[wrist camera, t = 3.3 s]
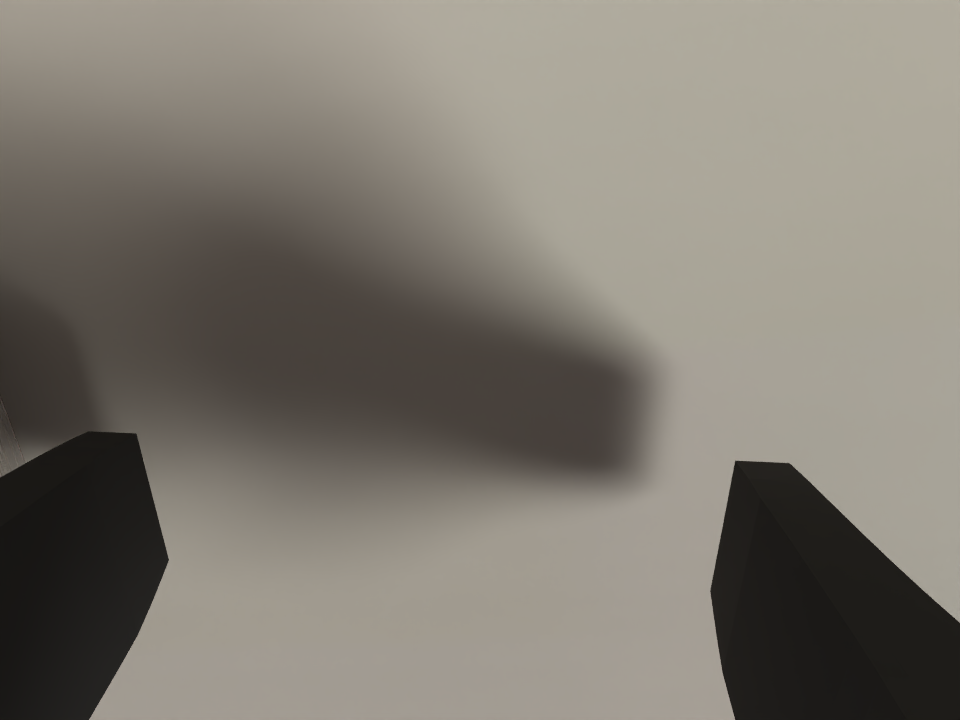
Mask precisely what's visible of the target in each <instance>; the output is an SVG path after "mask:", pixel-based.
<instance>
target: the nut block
mask: <svg viewBox="0 0 960 720" xmlns="http://www.w3.org/2000/svg"><path fill="white" fill-rule="evenodd" d="M23 464H25V460H24V457H23V455H22V452H21V449H20V447H19V444H18V441H17V439H16V436H15V433H14V430H13V428H12V425H11V422H10V420H9V417H8V414H7V412H6V409H5V406H4V403H3V401H2V398H1V395H0V477H2V476H4V475H5V474H7V473H9V472H11V471H13V470H14V469H16V468H18V467H20V466H22V465H23Z"/></svg>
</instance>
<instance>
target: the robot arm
mask: <svg viewBox="0 0 960 720" xmlns="http://www.w3.org/2000/svg"><path fill="white" fill-rule="evenodd" d="M168 561H169V559H168V555H167V551H166V547H165V543H164V539H163V535H162V532H161V528H160V524H159V520H158V516H157V512H156V508H155V504H154V501H153V497H152V493H151V489H150V485H149V481H148V477H147V473H146V469H145V466H144V462H143V458H142V454H141V450H140V446H139V442H138V438H137V434H133V433H111V432H87V433H84V434H82V435H80V436H78V437H76V438H73V439H71V440H69V441H67V442H65V443H63V444H61V445H59V446H57V447H55V448H53V449H51V450H49V451H48V452H46V453H44V454H42V455H40V456H38V457H36V458H34V459H33V460H31V461H29V462H27V463H25V464H23V465H22V466H20V467H18V468H16V469H14V470H13V471H11V472H9V473H7V474H5V475H4V476H2V477H0V720H89V719H90V717H91V715H92V714H93V712H94V710H95V708H96V707H97V705H98V703H99V702H100V700H101V698H102V697H103V695H104V693H105V691H106V690H107V688H108V686H109V684H110V683H111V681H112V679H113V678H114V676H115V674H116V672H117V671H118V669H119V667H120V665H121V664H122V662H123V660H124V658H125V657H126V655H127V653H128V651H129V650H130V648H131V646H132V644H133V642H134V641H135V639H136V637H137V635H138V633H139V631H140V629H141V626H142V624H143V622H144V619H145V617H146V615H147V613H148V610H149V608H150V606H151V603H152V601H153V599H154V596H155V594H156V591H157V589H158V586H159V584H160V581H161V579H162V576H163V574H164V571H165V568H166V566H167V563H168ZM710 592H711V599H712V606H713V613H714V620H715V627H716V634H717V640H718V647H719V653H720V659H721V665H722V671H723V676H724V679H725V683H726V687H727V691H728V694H729V698H730V702H731V705H732V709H733V713H734V716H735V720H960V623H959V622H958V621H957V620H956V619H955V618H954V617H952V616H951V615H950V614H949V613H948V612H947V611H946V610H944V609H943V608H942V607H941V606H940V605H939V604H938V603H937V602H935V601H934V600H933V599H932V598H931V597H930V596H929V595H928V594H926V593H925V592H924V591H923V590H922V589H921V588H920V587H919V586H918V585H917V584H915V583H914V582H913V581H912V580H911V579H910V578H909V577H908V576H907V575H906V574H905V573H904V572H902V571H901V570H900V569H899V568H898V567H897V566H896V565H895V564H894V563H893V562H892V561H891V560H890V559H889V558H887V557H886V556H885V555H884V554H883V553H882V552H881V551H880V550H879V549H878V548H877V547H876V546H875V545H874V544H873V543H872V542H871V541H870V540H869V539H868V538H866V537H865V536H864V535H863V534H862V533H861V532H860V531H859V530H858V529H857V528H856V527H855V526H854V525H853V524H852V523H851V522H850V521H849V520H848V519H847V518H846V517H845V516H844V515H843V514H842V513H841V512H840V511H839V510H838V509H837V508H836V507H835V506H834V505H833V504H832V503H831V502H829V501H828V500H827V499H826V498H825V497H824V496H823V495H822V494H821V493H820V492H819V491H818V490H817V489H816V488H815V487H814V486H813V485H812V484H811V483H810V482H809V481H808V480H807V479H806V478H805V477H804V476H803V475H802V474H801V473H800V472H798V471H797V470H796V469H795V468H794V467H793V466H792V465H791V464H790V463H773V462H751V461H735V465H734V471H733V476H732V481H731V486H730V491H729V497H728V502H727V507H726V512H725V518H724V523H723V528H722V533H721V538H720V544H719V549H718V554H717V559H716V565H715V570H714V575H713V580H712V585H711V591H710Z"/></svg>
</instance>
